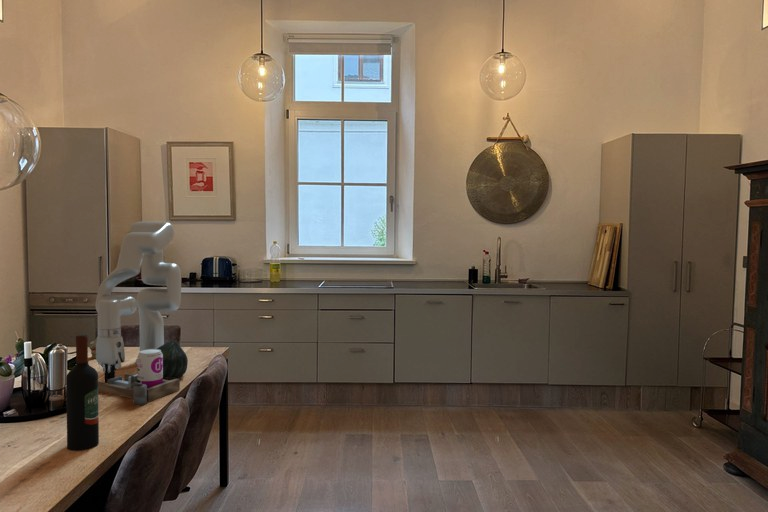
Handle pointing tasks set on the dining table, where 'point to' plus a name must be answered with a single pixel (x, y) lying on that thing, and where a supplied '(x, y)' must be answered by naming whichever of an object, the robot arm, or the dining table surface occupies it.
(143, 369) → the supplement can
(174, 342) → the squash
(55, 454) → the dining table surface
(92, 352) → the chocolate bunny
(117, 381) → the follower
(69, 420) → the wine bottle
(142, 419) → the dining table surface
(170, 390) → the bay
